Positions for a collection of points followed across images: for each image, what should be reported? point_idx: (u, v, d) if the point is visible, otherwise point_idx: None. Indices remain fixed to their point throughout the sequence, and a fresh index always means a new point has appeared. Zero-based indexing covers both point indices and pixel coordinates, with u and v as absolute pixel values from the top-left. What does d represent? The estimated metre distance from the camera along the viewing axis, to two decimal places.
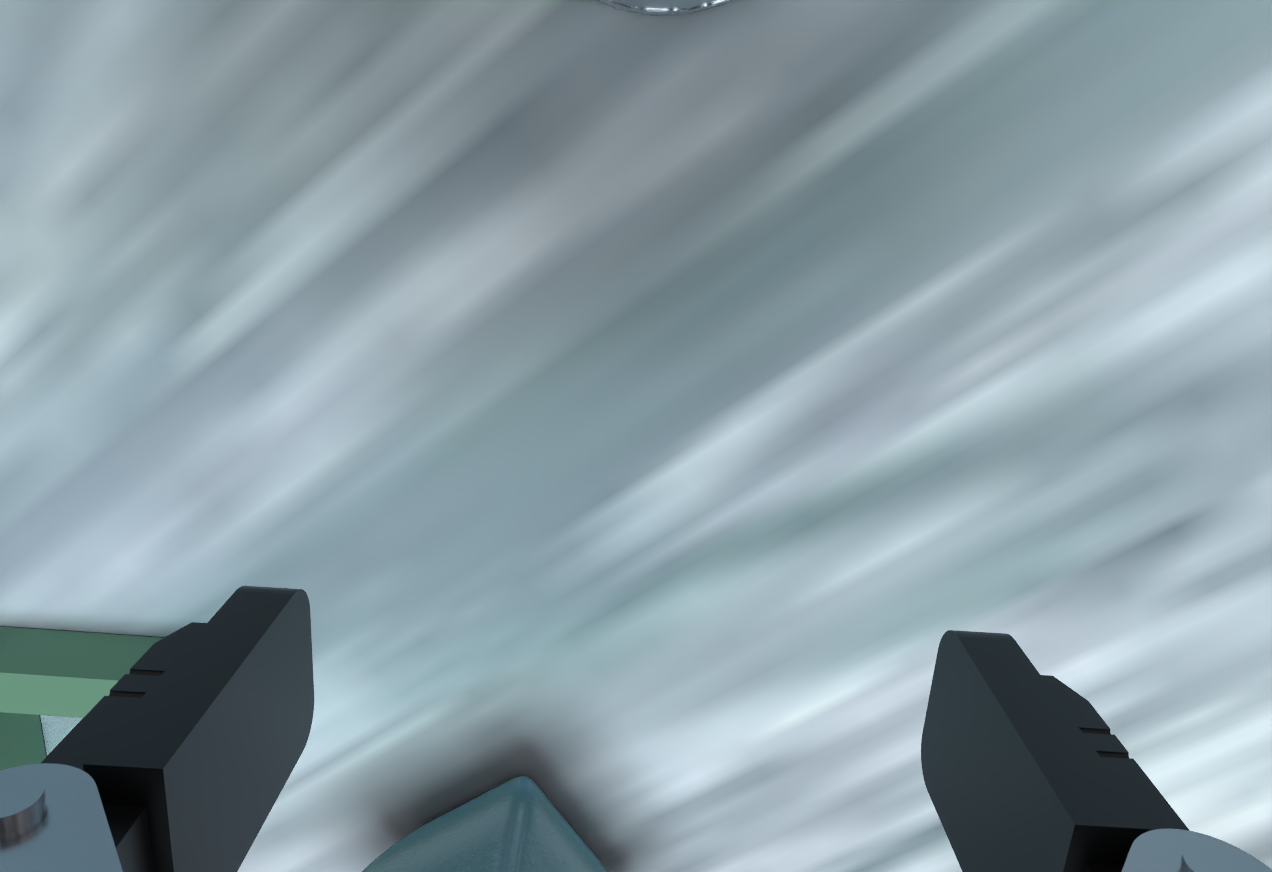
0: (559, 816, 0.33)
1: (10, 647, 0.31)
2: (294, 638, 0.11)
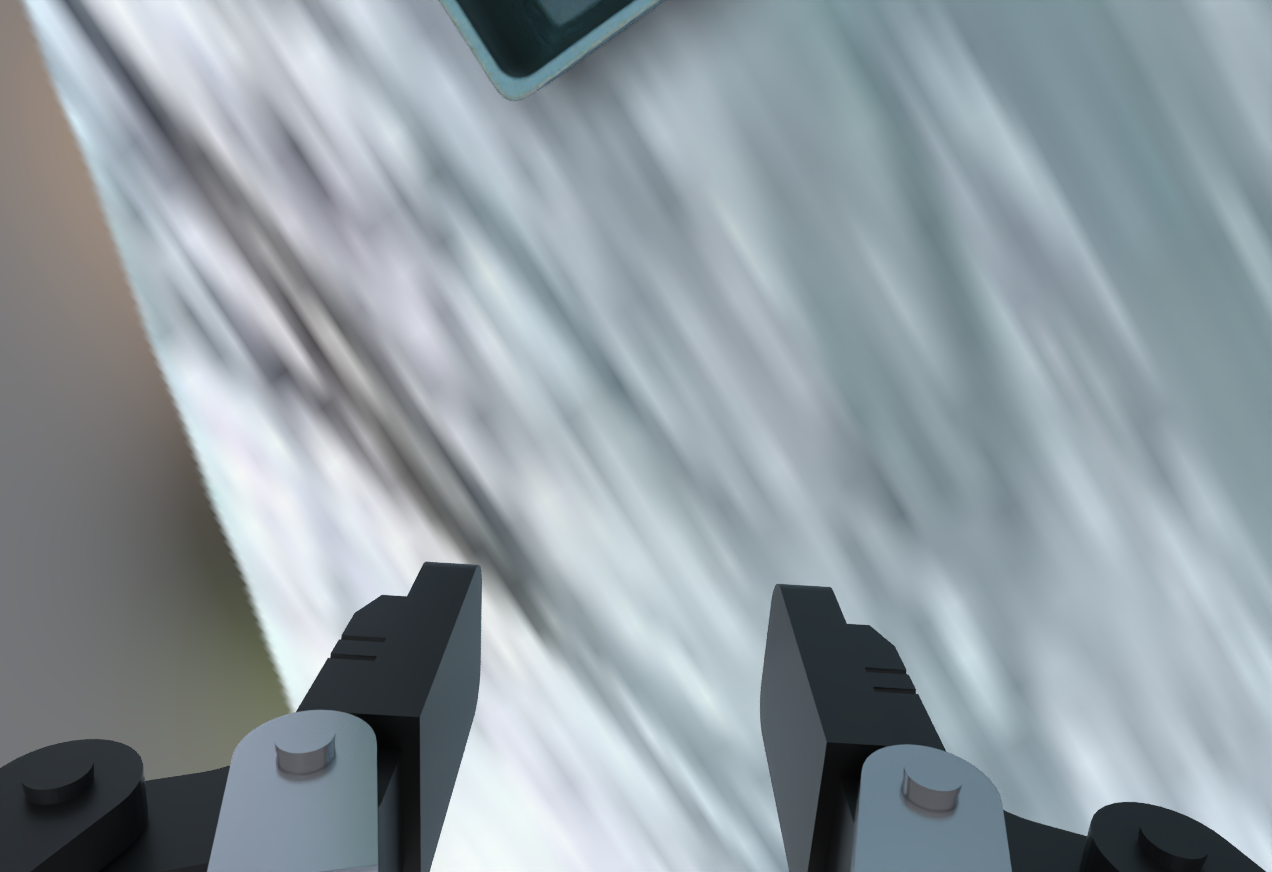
0: None
1: None
2: (474, 609, 0.12)
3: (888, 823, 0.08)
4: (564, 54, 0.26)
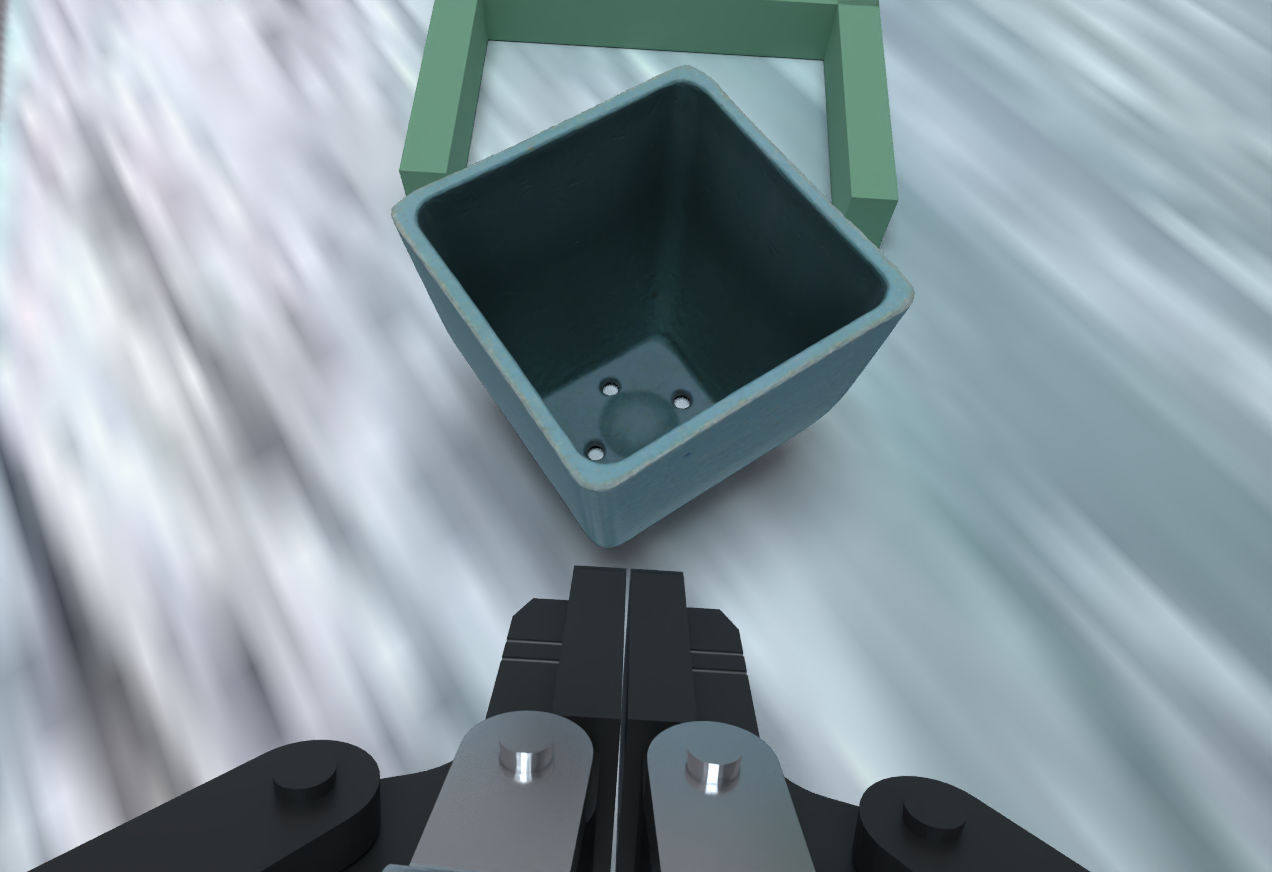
0: None
1: None
2: None
3: (682, 808, 0.08)
4: (667, 435, 0.19)
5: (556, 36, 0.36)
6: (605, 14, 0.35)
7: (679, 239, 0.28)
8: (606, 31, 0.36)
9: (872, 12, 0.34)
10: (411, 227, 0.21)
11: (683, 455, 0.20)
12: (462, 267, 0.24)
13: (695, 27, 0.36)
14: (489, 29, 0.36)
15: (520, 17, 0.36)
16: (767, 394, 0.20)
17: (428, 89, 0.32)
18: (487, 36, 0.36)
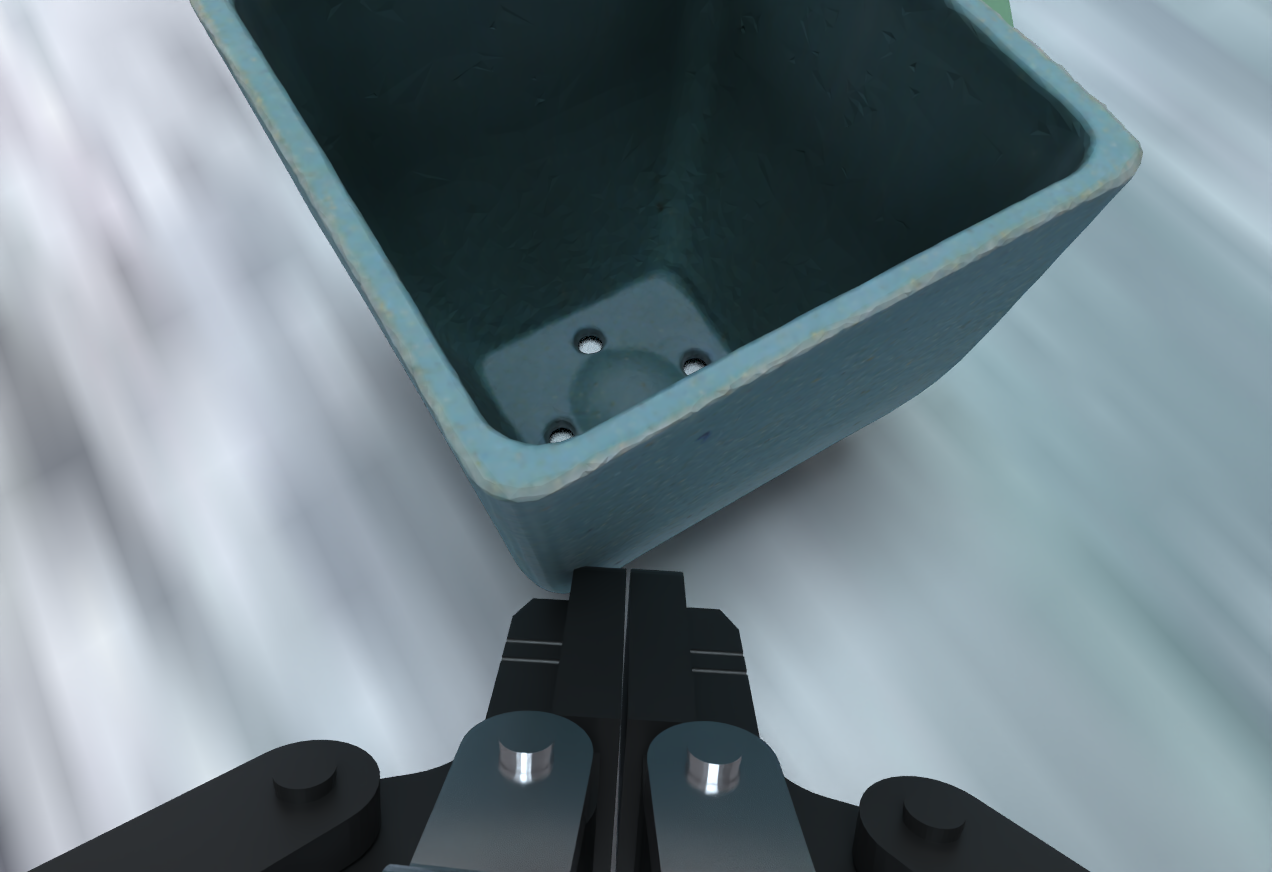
0: None
1: None
2: None
3: (682, 807, 0.08)
4: (666, 393, 0.09)
5: None
6: None
7: (703, 117, 0.18)
8: None
9: None
10: (216, 5, 0.12)
11: (696, 437, 0.10)
12: (340, 115, 0.15)
13: None
14: None
15: None
16: (866, 324, 0.10)
17: None
18: None
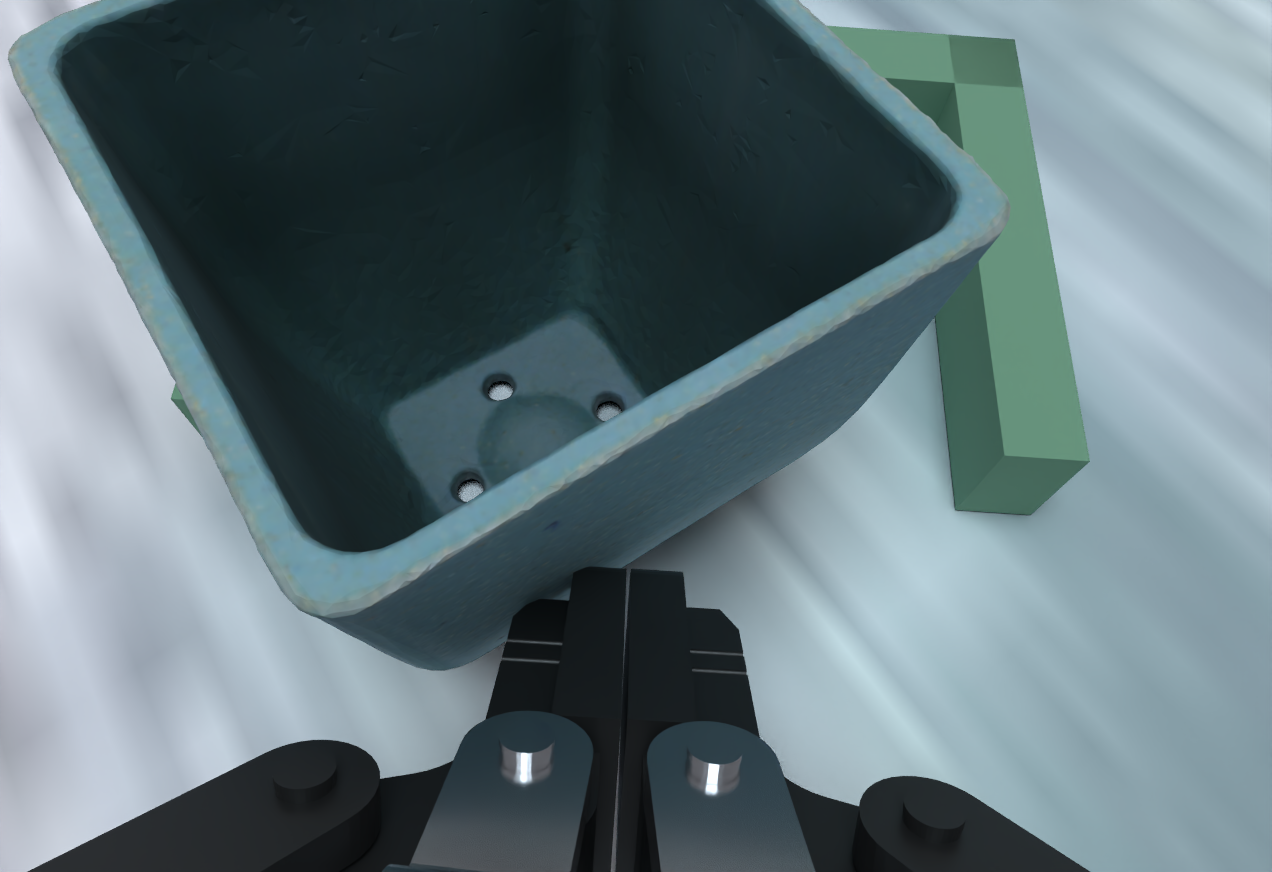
0: None
1: None
2: None
3: (682, 808, 0.08)
4: (497, 490, 0.09)
5: None
6: None
7: (602, 156, 0.18)
8: None
9: (1012, 97, 0.20)
10: (40, 77, 0.11)
11: (542, 528, 0.10)
12: (204, 176, 0.14)
13: None
14: None
15: None
16: (716, 403, 0.10)
17: None
18: None
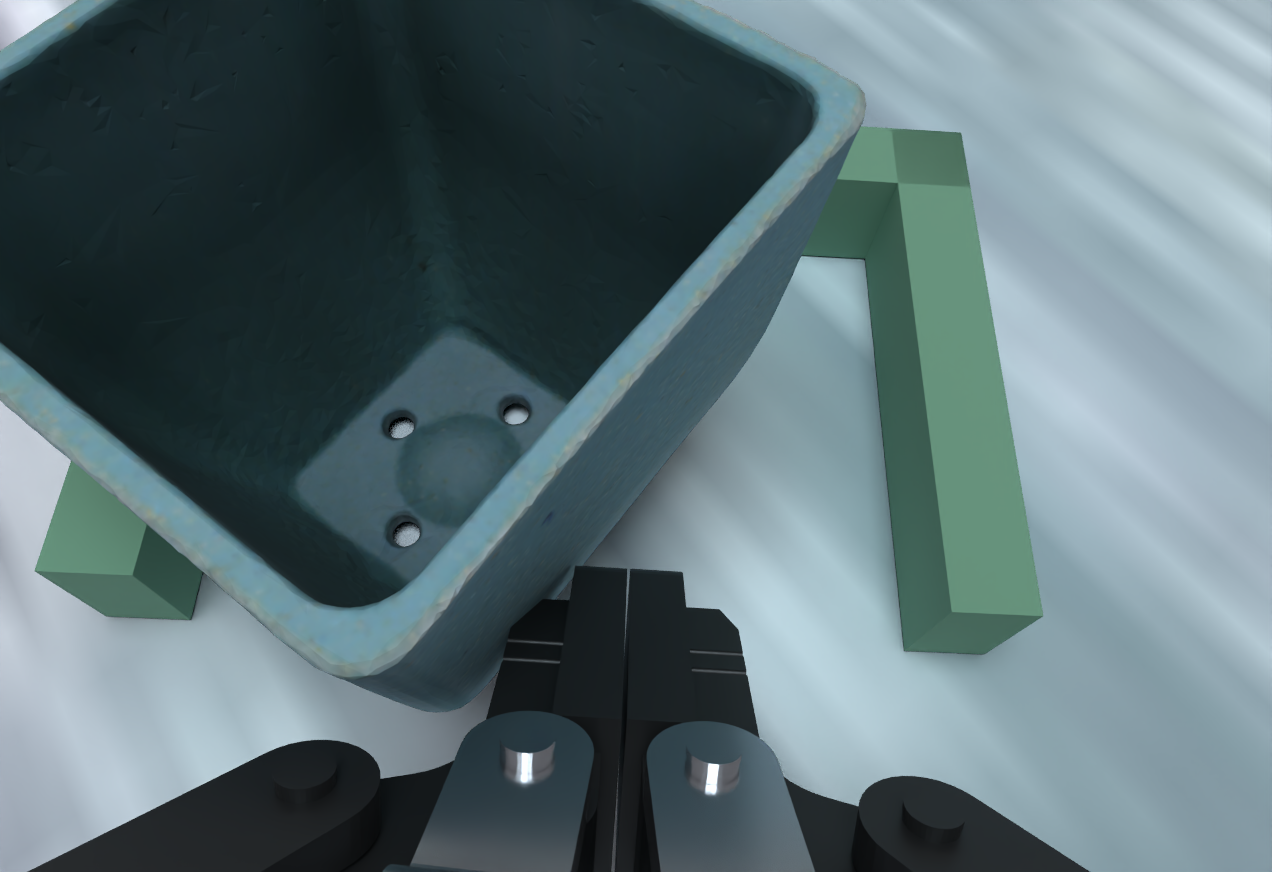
0: None
1: None
2: None
3: (682, 807, 0.08)
4: (494, 497, 0.09)
5: None
6: None
7: (433, 166, 0.17)
8: None
9: (959, 198, 0.19)
10: None
11: (540, 522, 0.09)
12: (36, 295, 0.13)
13: None
14: None
15: None
16: (668, 350, 0.10)
17: None
18: None
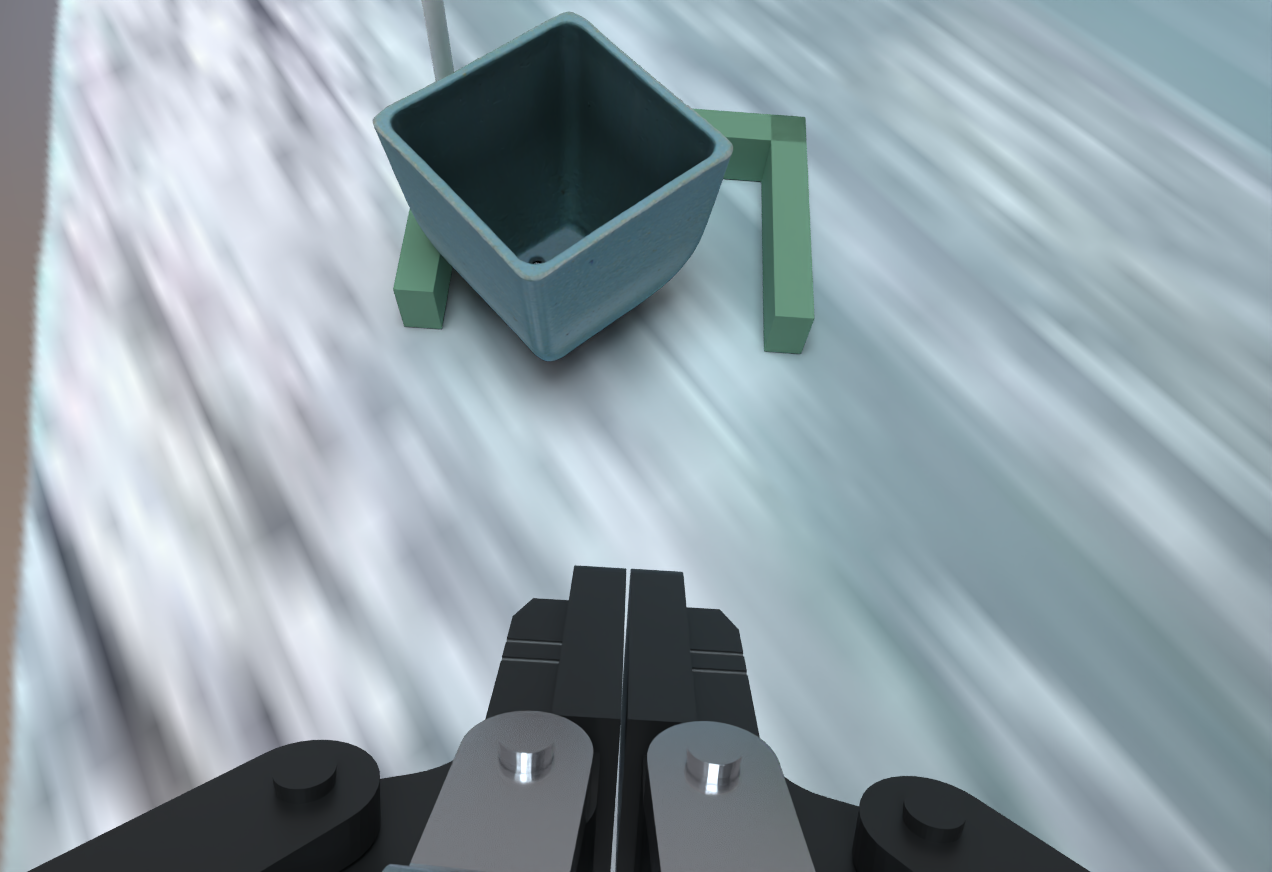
0: (626, 311, 0.37)
1: None
2: None
3: (682, 807, 0.08)
4: (576, 244, 0.29)
5: None
6: None
7: (577, 146, 0.38)
8: None
9: (800, 148, 0.40)
10: (388, 131, 0.31)
11: (588, 261, 0.30)
12: None
13: None
14: None
15: None
16: (640, 216, 0.30)
17: None
18: None
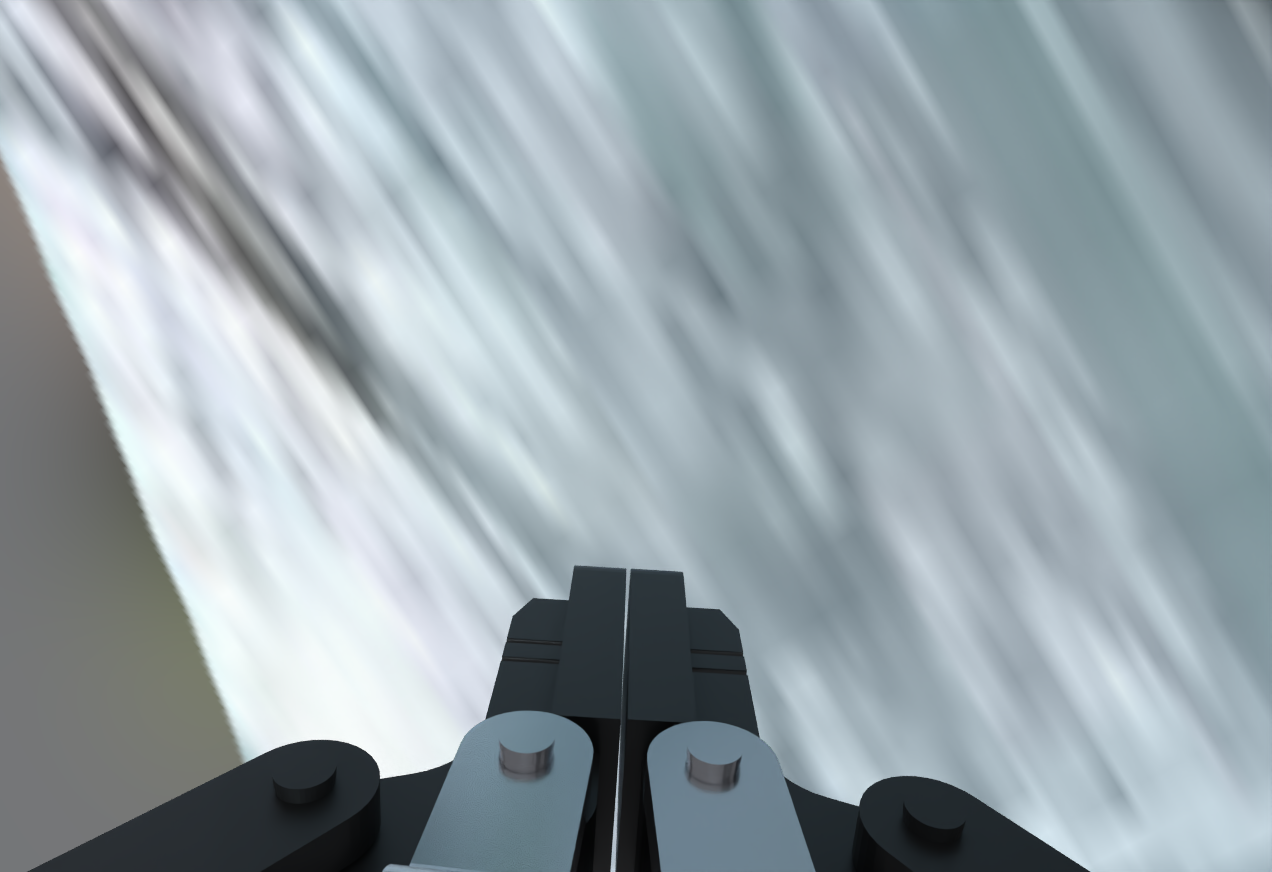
0: None
1: None
2: None
3: (682, 807, 0.08)
4: None
5: None
6: None
7: None
8: None
9: None
10: None
11: None
12: None
13: None
14: None
15: None
16: None
17: None
18: None
